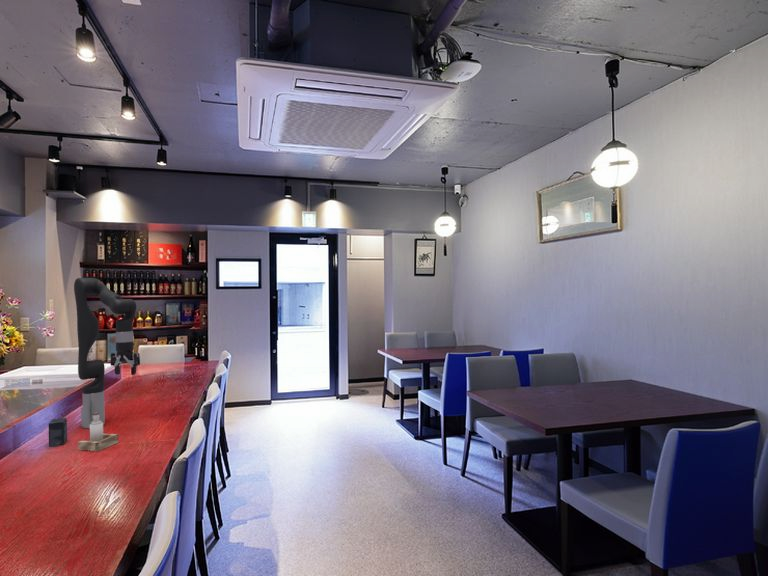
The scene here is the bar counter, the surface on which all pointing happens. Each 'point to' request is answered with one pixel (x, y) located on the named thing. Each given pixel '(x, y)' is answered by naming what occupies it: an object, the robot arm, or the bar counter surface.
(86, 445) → the rest
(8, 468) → the bar counter surface
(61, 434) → the box
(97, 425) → the bottle
